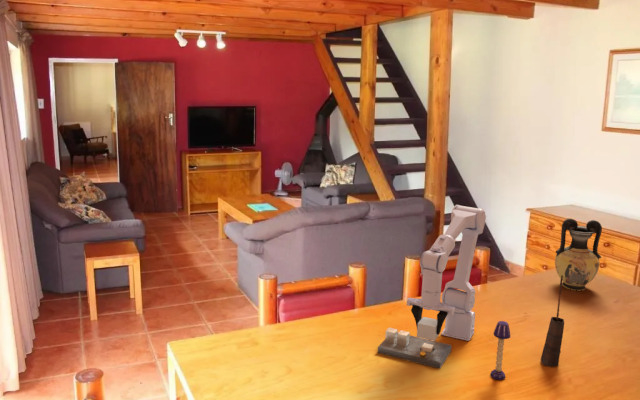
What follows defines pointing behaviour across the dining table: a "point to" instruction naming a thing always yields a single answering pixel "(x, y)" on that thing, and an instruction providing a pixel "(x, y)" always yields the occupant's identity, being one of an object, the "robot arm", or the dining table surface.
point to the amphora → (578, 254)
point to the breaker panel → (413, 348)
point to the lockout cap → (427, 328)
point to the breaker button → (427, 347)
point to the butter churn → (553, 338)
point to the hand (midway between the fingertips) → (428, 330)
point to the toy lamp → (500, 348)
